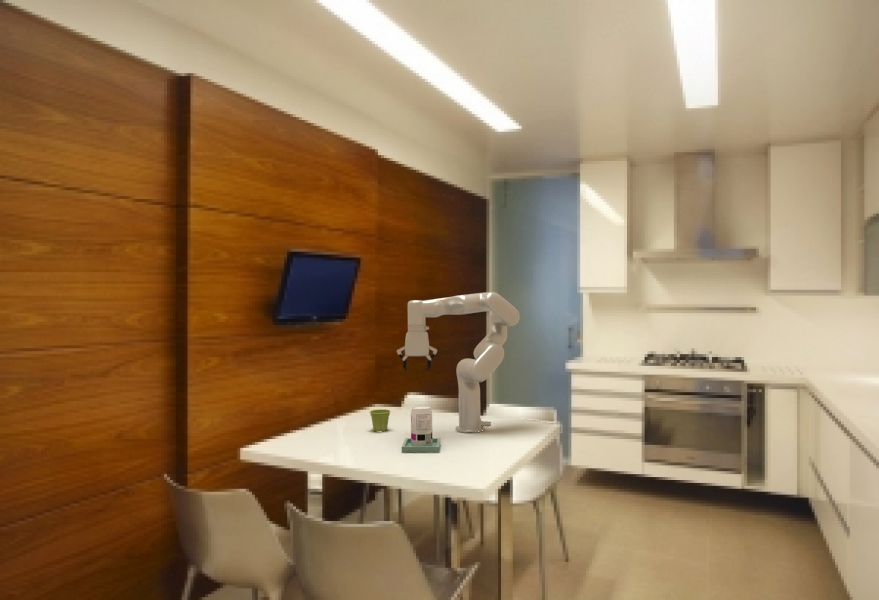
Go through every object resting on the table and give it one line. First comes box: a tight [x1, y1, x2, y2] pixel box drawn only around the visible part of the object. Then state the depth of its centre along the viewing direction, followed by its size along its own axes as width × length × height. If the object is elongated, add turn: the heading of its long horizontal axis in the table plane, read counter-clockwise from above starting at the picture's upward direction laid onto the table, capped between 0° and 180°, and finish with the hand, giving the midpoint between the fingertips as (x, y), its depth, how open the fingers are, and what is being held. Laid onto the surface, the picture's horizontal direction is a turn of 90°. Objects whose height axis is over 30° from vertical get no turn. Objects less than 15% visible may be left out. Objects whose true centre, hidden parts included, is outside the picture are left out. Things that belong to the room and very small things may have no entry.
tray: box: [401, 437, 441, 454], centre depth 209 cm, size 14×14×2 cm
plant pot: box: [369, 408, 391, 432], centre depth 241 cm, size 9×9×9 cm
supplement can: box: [410, 405, 433, 446], centre depth 210 cm, size 8×8×15 cm
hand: (417, 369), depth 229 cm, fingers open, 9 cm apart
